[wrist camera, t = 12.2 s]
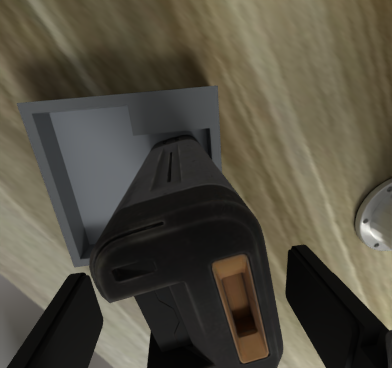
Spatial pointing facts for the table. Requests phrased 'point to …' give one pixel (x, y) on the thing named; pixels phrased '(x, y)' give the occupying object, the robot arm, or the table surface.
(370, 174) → the table surface
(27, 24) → the table surface
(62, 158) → the keyhole dock
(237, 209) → the electronic device
